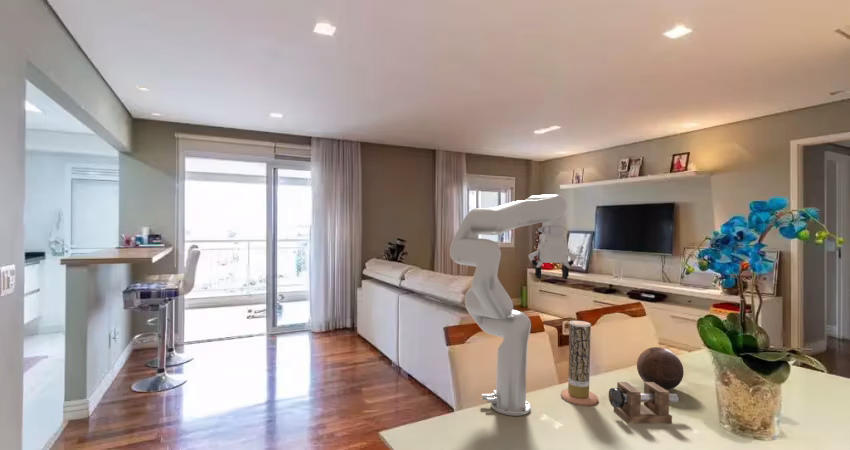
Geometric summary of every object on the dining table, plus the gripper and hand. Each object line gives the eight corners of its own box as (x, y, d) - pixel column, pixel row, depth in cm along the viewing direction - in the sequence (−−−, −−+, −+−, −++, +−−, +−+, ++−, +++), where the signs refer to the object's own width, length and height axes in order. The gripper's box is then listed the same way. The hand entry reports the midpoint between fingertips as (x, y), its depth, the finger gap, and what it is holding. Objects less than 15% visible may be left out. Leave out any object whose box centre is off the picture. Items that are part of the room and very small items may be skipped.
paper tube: (590, 400, 138) (592, 325, 138) (569, 398, 139) (571, 324, 139) (587, 392, 145) (588, 321, 145) (566, 390, 146) (568, 320, 146)
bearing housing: (627, 423, 125) (628, 392, 125) (613, 411, 133) (614, 382, 132) (671, 422, 125) (672, 392, 125) (655, 410, 133) (656, 381, 133)
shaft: (617, 410, 126) (618, 392, 126) (608, 402, 131) (608, 385, 131) (682, 410, 127) (682, 392, 127) (670, 402, 132) (670, 385, 132)
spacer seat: (569, 405, 136) (569, 402, 136) (555, 390, 148) (555, 388, 148) (604, 405, 136) (604, 402, 136) (588, 390, 148) (588, 388, 148)
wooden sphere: (693, 396, 146) (694, 354, 146) (655, 398, 144) (656, 355, 144) (662, 380, 161) (663, 341, 161) (627, 381, 158) (628, 342, 158)
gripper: (532, 230, 144) (531, 279, 144) (580, 232, 145) (579, 280, 145) (526, 230, 152) (525, 276, 152) (571, 231, 153) (570, 277, 153)
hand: (551, 278), depth 148 cm, fingers open, 9 cm apart
